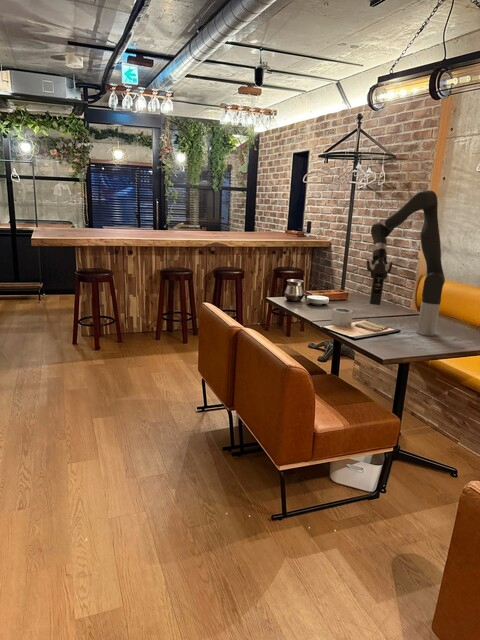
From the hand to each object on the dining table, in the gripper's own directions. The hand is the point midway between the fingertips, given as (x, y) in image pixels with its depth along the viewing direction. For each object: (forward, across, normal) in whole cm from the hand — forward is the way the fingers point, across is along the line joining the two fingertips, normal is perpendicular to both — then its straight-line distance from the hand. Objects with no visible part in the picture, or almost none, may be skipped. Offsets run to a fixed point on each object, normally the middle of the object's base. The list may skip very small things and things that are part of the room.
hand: (378, 277), depth 244 cm
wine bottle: (+9, 0, +12) cm, 15 cm away
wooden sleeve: (+19, -16, +20) cm, 32 cm away
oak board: (+19, 0, +21) cm, 28 cm away
